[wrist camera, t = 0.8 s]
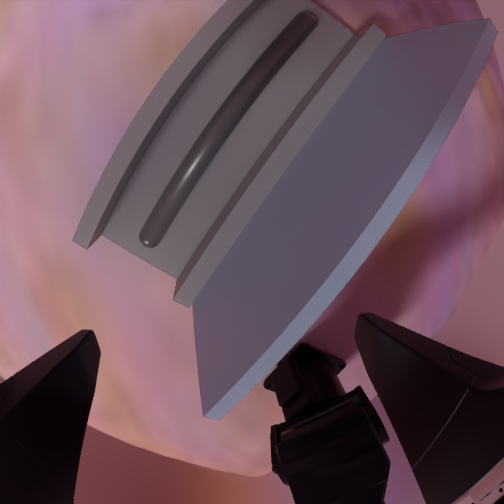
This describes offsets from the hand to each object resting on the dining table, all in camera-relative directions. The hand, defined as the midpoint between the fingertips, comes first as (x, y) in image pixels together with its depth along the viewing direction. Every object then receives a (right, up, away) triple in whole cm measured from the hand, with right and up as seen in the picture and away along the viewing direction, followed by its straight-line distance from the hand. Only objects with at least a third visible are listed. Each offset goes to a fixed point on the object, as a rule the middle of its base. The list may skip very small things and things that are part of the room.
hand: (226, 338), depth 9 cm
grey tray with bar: (-1, +12, +10) cm, 15 cm away
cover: (+4, +6, +3) cm, 8 cm away
